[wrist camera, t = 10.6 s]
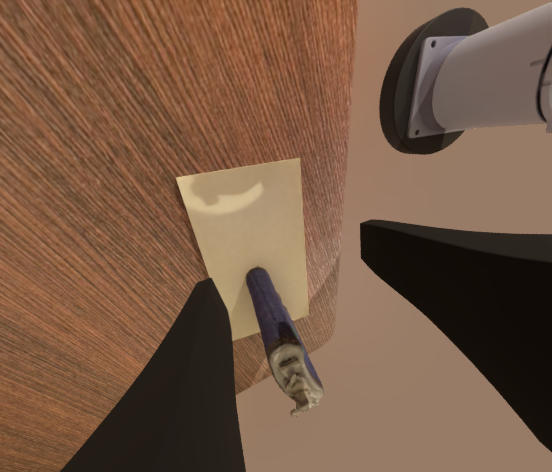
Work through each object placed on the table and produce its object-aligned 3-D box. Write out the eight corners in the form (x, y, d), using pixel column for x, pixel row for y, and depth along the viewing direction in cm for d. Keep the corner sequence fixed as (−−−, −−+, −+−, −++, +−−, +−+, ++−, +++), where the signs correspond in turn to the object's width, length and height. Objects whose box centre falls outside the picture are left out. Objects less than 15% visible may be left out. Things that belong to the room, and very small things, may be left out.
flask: (291, 316, 24) (340, 424, 15) (270, 327, 24) (306, 444, 15) (263, 261, 20) (308, 365, 11) (237, 274, 20) (258, 392, 10)
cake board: (298, 157, 17) (300, 157, 17) (308, 314, 25) (309, 315, 25) (176, 177, 15) (175, 177, 15) (230, 339, 23) (231, 341, 23)
